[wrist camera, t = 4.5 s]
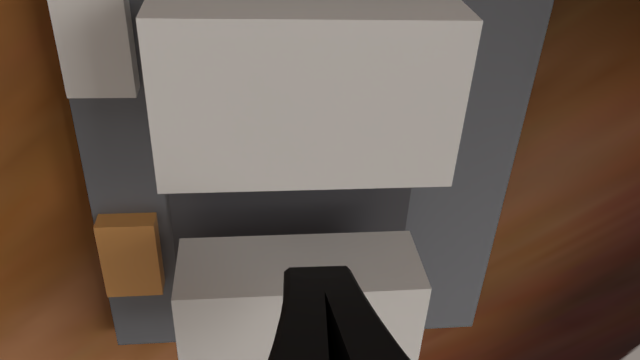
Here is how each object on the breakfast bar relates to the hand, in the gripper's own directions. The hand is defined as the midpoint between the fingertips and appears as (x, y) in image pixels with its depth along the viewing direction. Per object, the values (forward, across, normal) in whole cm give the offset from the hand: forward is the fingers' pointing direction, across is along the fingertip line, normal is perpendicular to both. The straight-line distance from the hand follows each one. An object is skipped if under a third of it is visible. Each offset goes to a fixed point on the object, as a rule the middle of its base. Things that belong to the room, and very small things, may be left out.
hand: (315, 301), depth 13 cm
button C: (+6, 0, +5) cm, 8 cm away
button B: (+6, 0, -3) cm, 7 cm away
